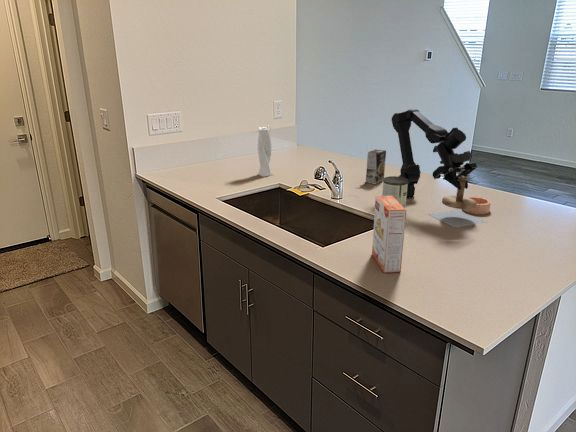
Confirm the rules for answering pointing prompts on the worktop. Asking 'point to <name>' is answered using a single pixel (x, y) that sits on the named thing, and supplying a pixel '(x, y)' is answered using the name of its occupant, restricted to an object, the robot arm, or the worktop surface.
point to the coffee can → (396, 188)
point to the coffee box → (375, 166)
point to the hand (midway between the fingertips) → (463, 188)
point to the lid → (459, 197)
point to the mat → (457, 218)
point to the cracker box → (388, 233)
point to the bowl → (479, 206)
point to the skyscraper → (264, 151)
